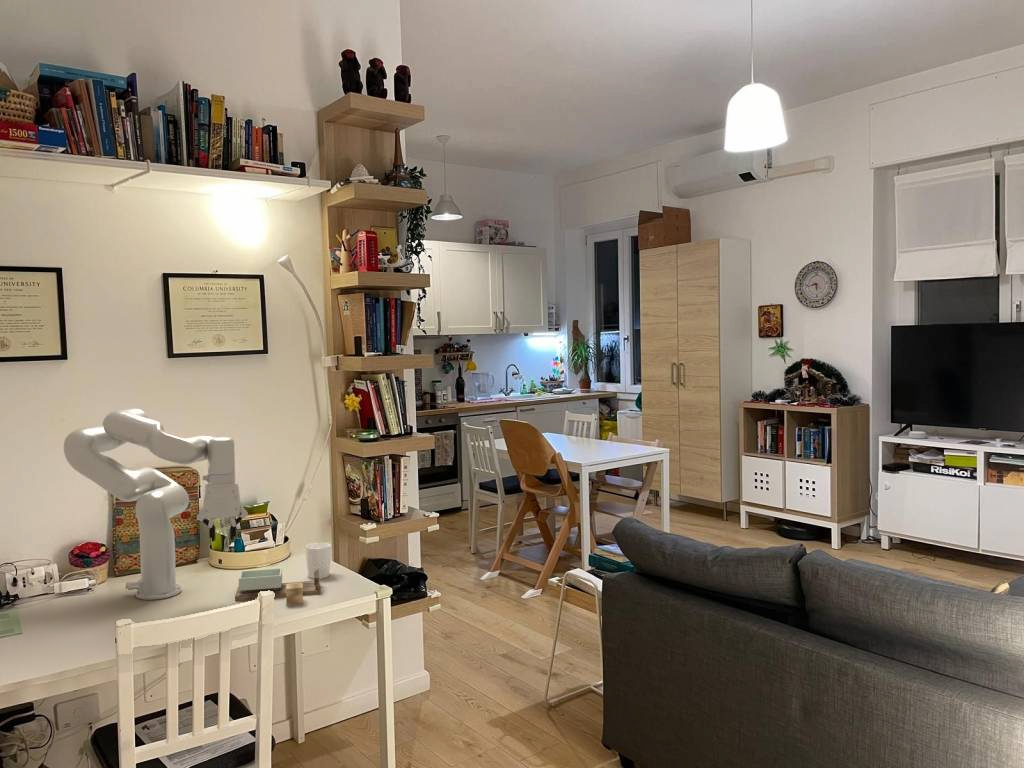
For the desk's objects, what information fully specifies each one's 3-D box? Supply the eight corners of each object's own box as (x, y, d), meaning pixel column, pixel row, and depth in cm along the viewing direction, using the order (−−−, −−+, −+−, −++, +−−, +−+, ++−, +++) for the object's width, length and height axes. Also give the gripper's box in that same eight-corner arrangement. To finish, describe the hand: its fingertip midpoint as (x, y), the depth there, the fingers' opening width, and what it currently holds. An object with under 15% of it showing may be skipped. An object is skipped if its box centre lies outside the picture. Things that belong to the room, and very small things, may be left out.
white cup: (325, 580, 246) (325, 549, 246) (302, 579, 248) (301, 548, 247) (335, 572, 254) (334, 542, 254) (312, 571, 256) (311, 542, 255)
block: (286, 606, 222) (286, 588, 222) (286, 601, 227) (286, 584, 226) (302, 604, 223) (302, 587, 223) (302, 599, 228) (302, 582, 228)
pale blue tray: (238, 594, 228) (238, 578, 228) (241, 586, 236) (241, 571, 235) (281, 591, 231) (280, 575, 231) (282, 583, 239) (282, 568, 238)
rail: (235, 600, 227) (234, 584, 226) (238, 590, 236) (237, 574, 236) (319, 593, 233) (319, 578, 232) (319, 584, 242) (318, 569, 242)
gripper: (189, 482, 223) (190, 544, 224) (250, 479, 227) (251, 541, 228) (193, 478, 230) (194, 538, 231) (252, 475, 235) (253, 534, 235)
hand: (223, 539), depth 230 cm, fingers open, 4 cm apart
